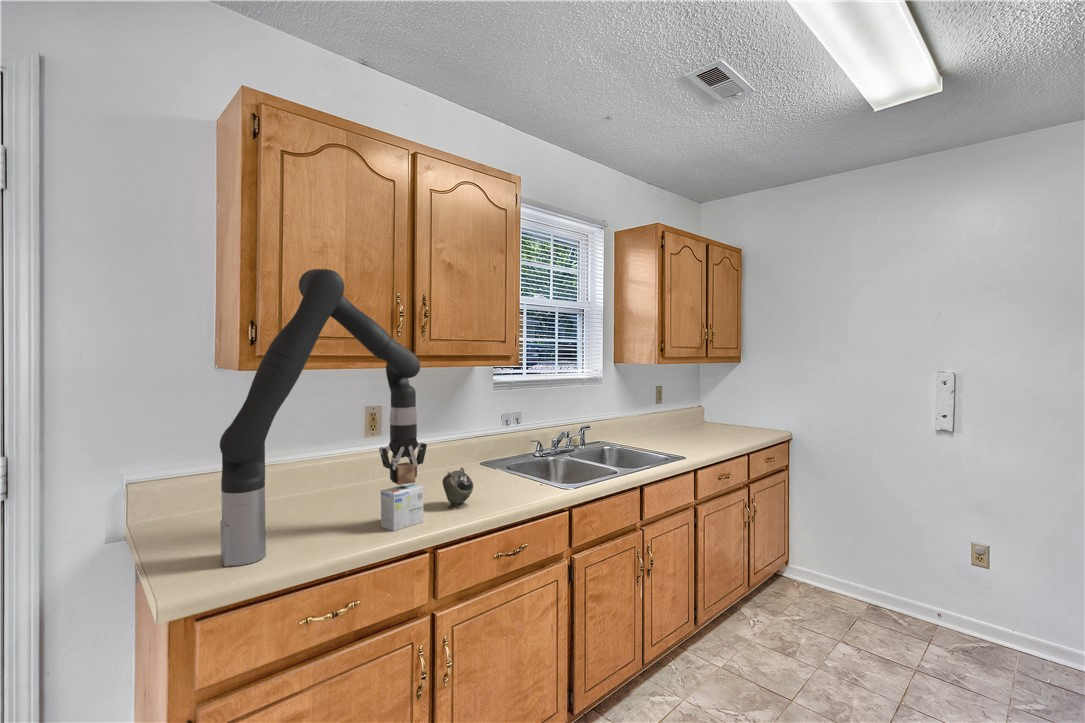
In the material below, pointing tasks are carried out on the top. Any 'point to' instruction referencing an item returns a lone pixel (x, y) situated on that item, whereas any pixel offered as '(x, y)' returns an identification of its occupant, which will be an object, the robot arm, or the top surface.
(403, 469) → the walnut cube
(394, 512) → the light bulb box
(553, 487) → the top surface
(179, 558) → the top surface
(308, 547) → the top surface
